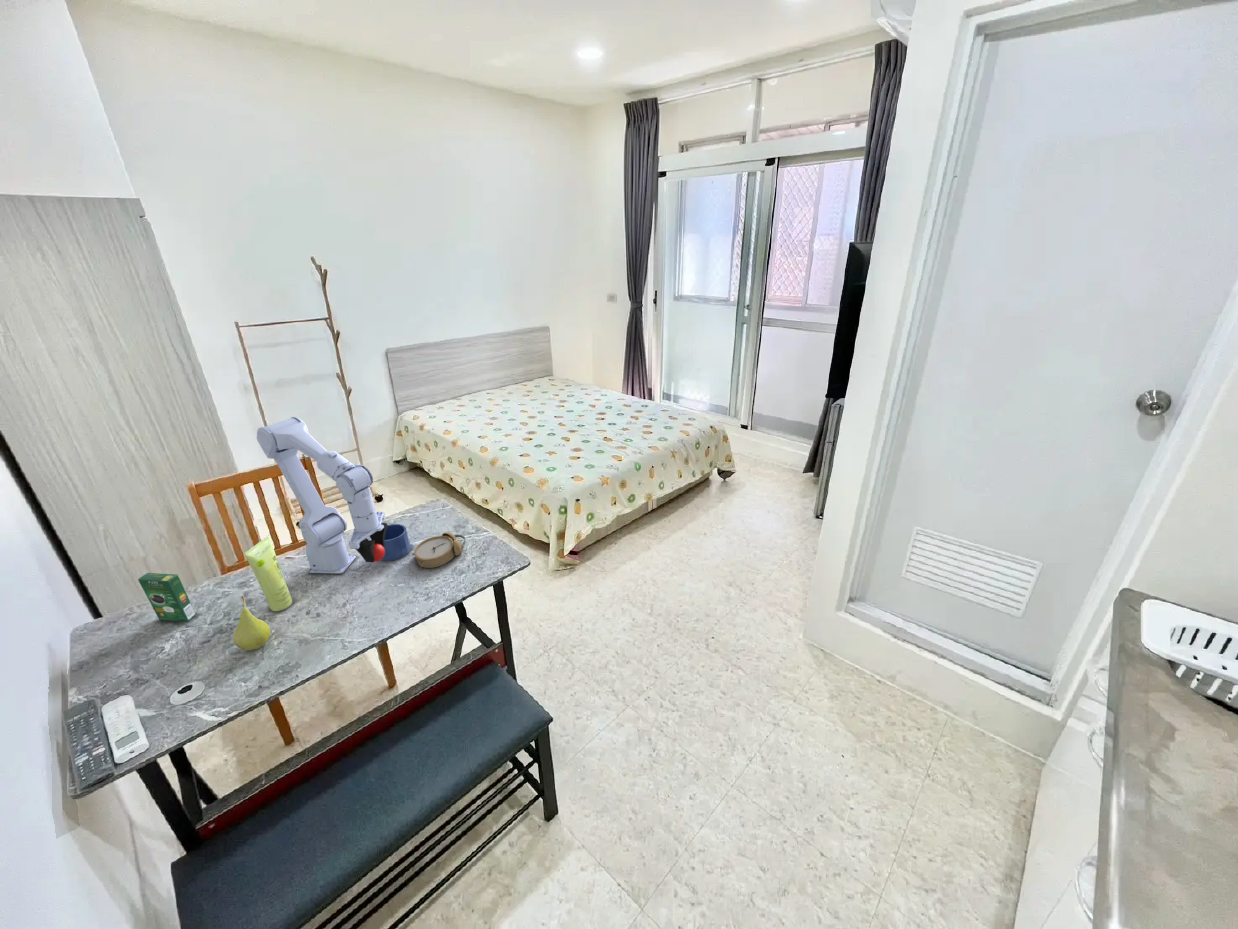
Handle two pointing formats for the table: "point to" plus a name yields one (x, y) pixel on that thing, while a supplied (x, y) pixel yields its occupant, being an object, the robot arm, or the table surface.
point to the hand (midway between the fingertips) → (375, 555)
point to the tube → (269, 574)
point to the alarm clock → (438, 550)
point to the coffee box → (167, 596)
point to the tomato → (378, 552)
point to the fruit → (250, 631)
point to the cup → (396, 542)
